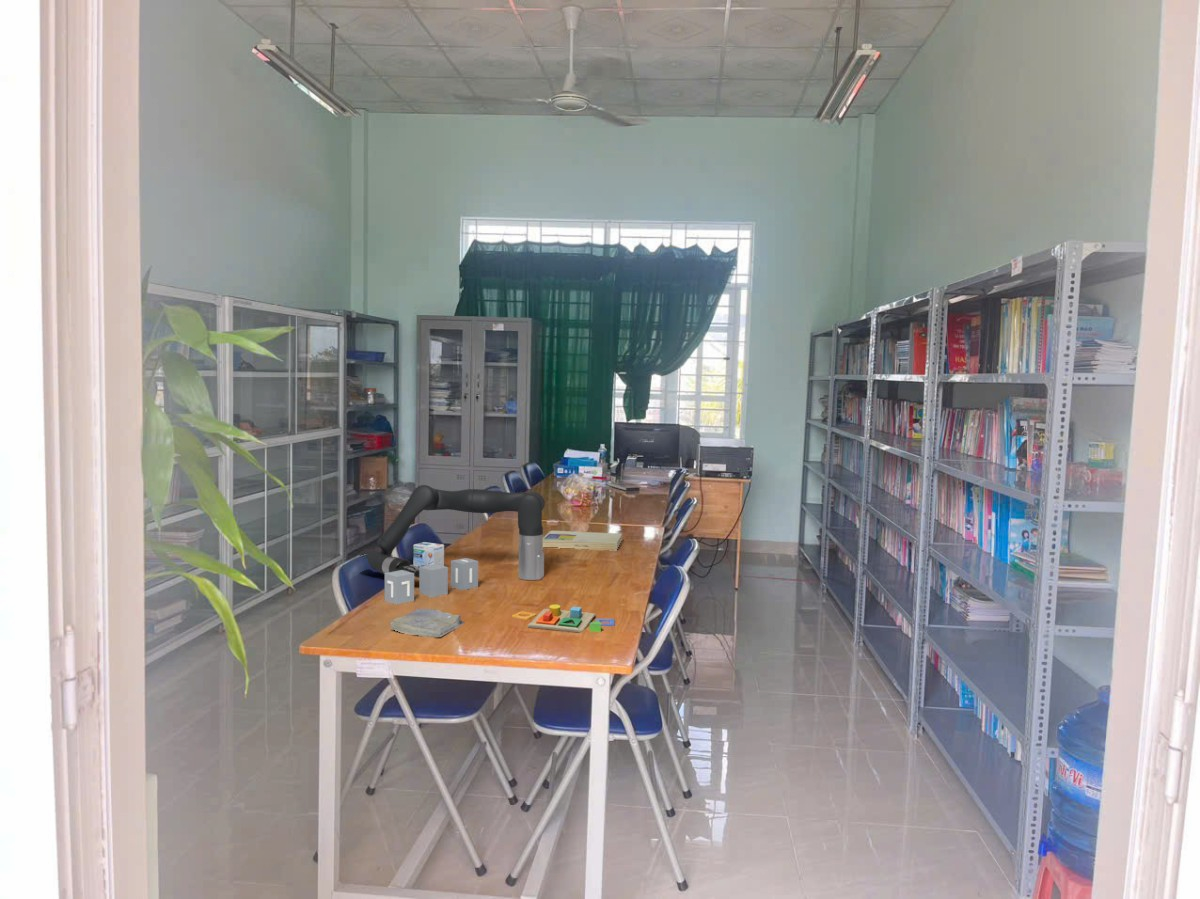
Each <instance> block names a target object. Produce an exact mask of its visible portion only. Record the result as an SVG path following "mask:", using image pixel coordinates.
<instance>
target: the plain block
mask: <svg viewBox="0 0 1200 899" xmlns="http://www.w3.org/2000/svg"><path fill="white" fill-rule="evenodd" d="M448 577H449V567H448V566H445V565H444V566H442V565H438V564H432V565H427V566H422V567H419V578H418V580H419V593H421V594H424V595H427V596H429V597H435V596H440V595H445V594H448V595H449V586H448V585H449V584H448V582H449V578H448ZM419 593H418V594H419ZM445 596H446V595H445ZM440 597H441V596H440Z"/></svg>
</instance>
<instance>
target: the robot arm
mask: <svg viewBox="0 0 1200 899" xmlns="http://www.w3.org/2000/svg"><path fill="white" fill-rule="evenodd" d="M545 505H546V502H545V498H544V497H543V495H541V494H540V493H538V492H536V491H525V492H506V491H500V490H490V489H481V488H467V489H460V490H452V491H451V490H444V489H437V488H433V487H432V486H429V485H427V484H422V485H421V484H420V485H418V486H417V487H416V488H414V490H413V491H412V493H411V494H410V496H409V498H408V500H407V501H406V503H405V504H404V506H403V507H402V509H401V511H400V512H399V513H398V515H397V516H396V517H395V519H394V520H393V522H391V524H390V525H389V526H388V527H387V528H386V530H385V531H384V532H383V533H382V535H380V537H379V538H378V540H377V541H376V544H377V546H378V547H379V548H380V549H381V550H380V551H376V550H374V549H371V548H366V549H364V550H363V551H361V552H360V554H359V556H361V555H364V554H368V555H366V559H368V562H369V564H370V566H371V568H373V569H375V570H377V571H378V573H380V574H383V575H385V573H389V572H394V571H399V570H404V571H408V572H411V573H414V579H415V578H418V579H419V568H418V567H417V566H414V565H413V564H412V562H410V561H409V559H405V558H402V557H398V556H392V553H393V552H394V551H395V549H396V548H397V546H399V544H400V542H401V541H402V540H403V539H404V537H405V536H406V534H407V533H408V530H409V528H410V527H411V524H412V523H413V522H414V520H415V519H416V517H418V516H419V514H420V513H422V512H423V511H439V510H440V511H441V510H444V511H445V510H449V511H450V510H451V511H452V510H453V511H457V512H462V513H463V512H466V513H472V514H473V513H475V514H495V513H503V512H516V513H517V527H518V579H520V580H523V581H540V580H542V579H543V578H544V577H545V552H543V551H544V548H543V537H544V527H543V521H542V520H543V519H542V517H543V516H542V515H543V514H542V513H543V511H544V509H545ZM359 556H358V557H359ZM363 557H365V556H363ZM422 566H424V565H422ZM422 566H420V567H422Z"/></svg>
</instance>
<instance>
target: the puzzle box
mask: <svg viewBox="0 0 1200 899" xmlns="http://www.w3.org/2000/svg"><path fill="white" fill-rule="evenodd" d="M621 541H622V542H623V533H617V532H616V533H613V532H594V531H593V532H592V531H589V532H588V531H571V530H570V531H568V530H566V531H565V530H550V531H548V532H547V533H546V534H545V535H543V547H558V548H557V549H560V548H575V549H574V550H581V549H589V551H603V550H609V551H608V552H617V551H618V550H619V548H620V546H621V544H622V542H621ZM620 543H621V544H620ZM619 545H620V546H619ZM618 547H619V548H618ZM617 549H618V550H617Z"/></svg>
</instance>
